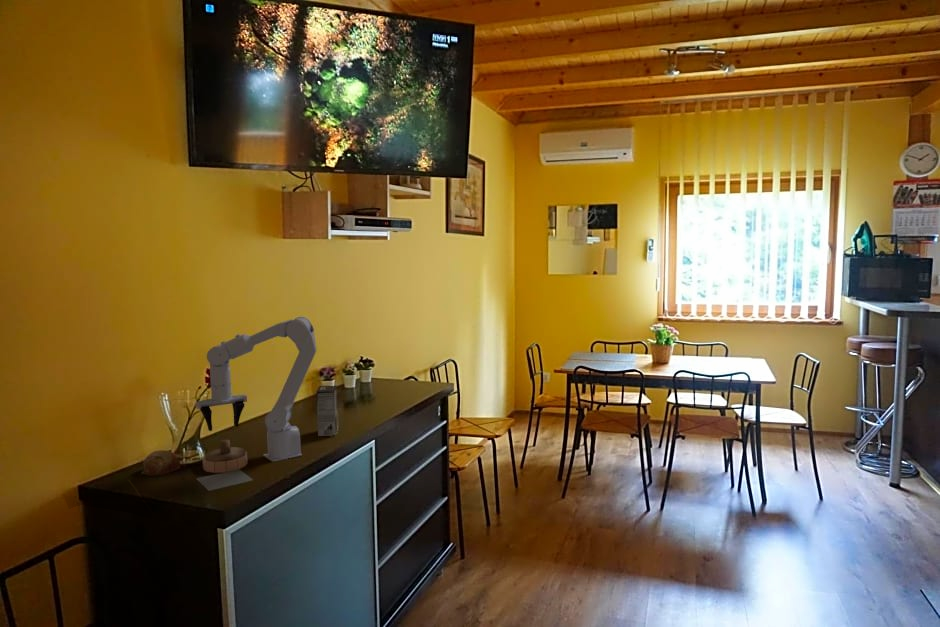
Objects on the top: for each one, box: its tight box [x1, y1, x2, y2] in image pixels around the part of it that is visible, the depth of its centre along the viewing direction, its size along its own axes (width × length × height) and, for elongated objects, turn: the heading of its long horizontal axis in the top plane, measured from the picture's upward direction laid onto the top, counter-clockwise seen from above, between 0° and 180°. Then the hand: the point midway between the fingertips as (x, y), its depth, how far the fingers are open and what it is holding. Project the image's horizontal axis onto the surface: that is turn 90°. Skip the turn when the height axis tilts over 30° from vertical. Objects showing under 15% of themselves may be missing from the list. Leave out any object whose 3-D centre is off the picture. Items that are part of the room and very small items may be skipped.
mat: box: [195, 468, 254, 492], centre depth 175 cm, size 12×12×1 cm
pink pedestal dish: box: [204, 439, 246, 462], centre depth 186 cm, size 11×11×4 cm
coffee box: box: [316, 385, 339, 436], centre depth 220 cm, size 9×6×16 cm
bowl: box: [202, 450, 248, 474], centre depth 187 cm, size 12×12×4 cm
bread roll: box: [141, 449, 181, 476], centre depth 184 cm, size 10×10×8 cm
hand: (223, 428), depth 193 cm, fingers open, 7 cm apart
